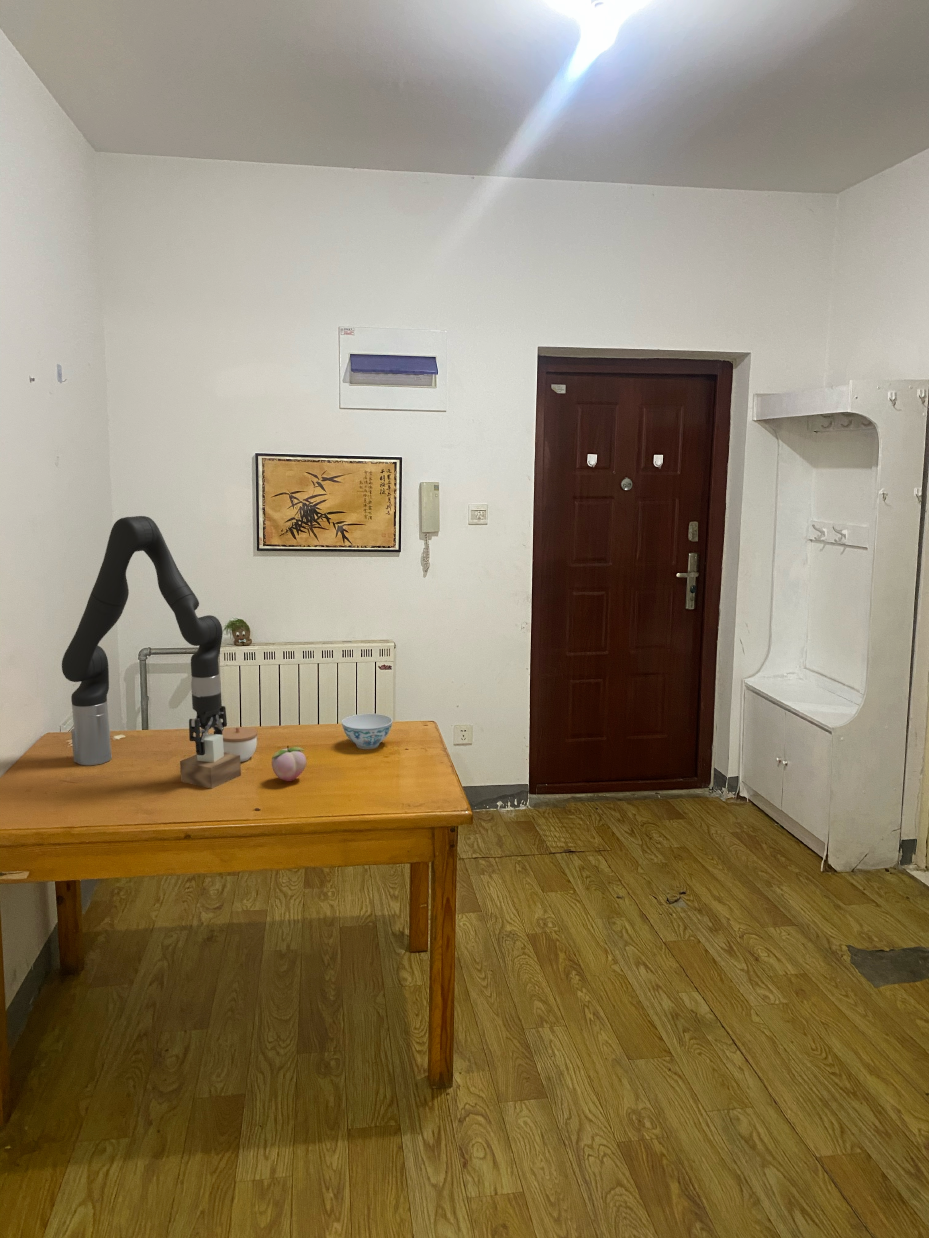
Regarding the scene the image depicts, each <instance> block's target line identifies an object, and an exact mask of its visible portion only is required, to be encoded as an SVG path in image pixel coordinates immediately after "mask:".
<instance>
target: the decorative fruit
mask: <svg viewBox="0 0 929 1238" xmlns="http://www.w3.org/2000/svg"><path fill="white" fill-rule="evenodd" d="M305 751H306V750H305V749H304V748H302V747H299V746H293V747H289V745H287V747H286V748H284V749H283V748H282V749H280V750H278V751H276V752H275V753H274V754H273V755H272V758H271V769H272V770H273V773H274V775H275V776H276V777H277V778H279V779H281V780H282V781H286V782H292V781H294V780H296V779H297V778H298V777H300V775H301V774H302V773H303V772H304V771H305V769H306V767H307V757H306V755H305V754H304V753H303V752H305Z"/></svg>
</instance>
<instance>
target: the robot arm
mask: <svg viewBox="0 0 929 1238" xmlns="http://www.w3.org/2000/svg"><path fill="white" fill-rule="evenodd" d="M142 551H143V552H144V553H145V554H146V556H147V557H148V558H149V559H150V560H151V563H152V564H153V565H154V569H155V573H156V579H157V586H158V589H159V591H160V593H161V596H162V597H163V599H164V600H165V602H166V603H167V604H168V606H169V608H170V609H171V611H172V612H173V614H174V617H175V619H176V620H175V621H176V623H177V625H178V628H179V631H180V634H181V636H182V638H183V639H184V640H185V641H186V642H187V643H188V644H190V645H191V646H194V647H197V646H198V650H197V651H195V652H194V653H193V654H192V655H191V657H190V674H191V675H190V676H191V681H190V682H191V683H190V690H191V704H192V705H191V706H192V709H193V710H194V712H196V717H195V718H189V720H188V735H189V737H188V738H189V739H188V740H189V741H190V742H194V743H195V752H196V754H195V755H204V754H205V743H204V739H205V735H206V734H209V731H210V730H211V729H212V730H213V734H218V735H222V731H224V730H225V729H224V728H226V727H227V726H228V721H227V719H228V718H227V708H226V706H225V705H222V704H223V702H222V700H223V699H222V685H221V684H222V683H221V678H220V669H219V668H220V666H219V665H220V664H219V657H220V656H219V655H220V653H221V647H222V646H221V645H222V640H223V626H222V624H221V621H220V619H218V618H217V617H216V616H214V615H212V614H211V615H209V614H208V615H203V616H201V617H198V615H197V613H196V610H197V609H198V608H199V607H200V601H199V599H198V596H196V594H195V592H193V590H192V588H191V586H190V585H189V584H188V582H187V581H186V579H185V578H184V576H183V575H182V574H181V571H180V570H179V568H178V566H177V564H176V561H175V560H174V558H173V556H172V553H171V552H170V548H169V547H168V545H167V543H166V541H165V538H164V536H163V533H162V532H161V530H160V528H159V527H158V525H157V523H156V522H155V521H154V519H152V518H150V517H149V516H145V515H138V516H137V515H135V516H125V517H121V518H119V519H117V520H116V521H115V522H114V523H113V526H112V528H111V530H110V532H109V537H108V541H107V545H106V548H105V551H104V552H105V553H104V556H103V560H102V563H101V566H100V569H99V572H98V575H97V577H96V580H95V582H94V585H93V586H92V589H91V591H90V594H89V597H88V600H87V603H86V606H85V609H84V611H83V614H82V616H81V619H80V621H79V624H78V626H77V629H76V632H75V633H74V635H73V637H72V639H71V641H70V643H69V645H68V646H67V649H66V650H65V652H64V654H63V657H62V660H61V672H62V674H63V676H64V678H65V679H66V680H68V681H69V682H71V683H72V682H73V683H80V684H79V686H78V687H77V688H76V689H75V691H74V692H72V694H71V709H72V720H73V728H72V729H71V730H70V734H71V743H72V755H73V756H72V757H73V762H74V763H77V764H78V765H81V766H96V765H102V764H105V763H107V762H109V761H111V760H112V758H113V757H112V744H111V732H110V721H109V720H110V719H109V709H108V707H109V706H108V693H109V689H110V677H109V676H110V674H109V672H110V670H109V660H108V656H107V654H106V651H105V650H104V649H103V648H102V647H101V646H100V645H99V643H100V642H101V641H102V640H103V638H104V637H105V636H106V635H107V634H108V633H109V631H110V630H111V629H113V627H114V626H115V625H116V623H118V621H119V619H120V618H121V616H122V614H123V612H124V611H125V607H126V605H127V601H128V598H129V594H130V592H129V591H130V590H129V584H128V580H127V569H128V567H129V565H130V562H131V559H132V557H133V555H134V553H137V552H142Z"/></svg>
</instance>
